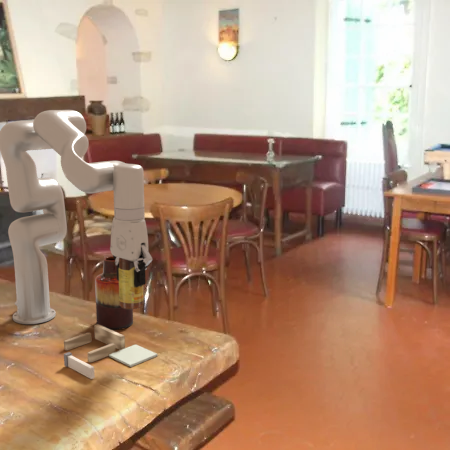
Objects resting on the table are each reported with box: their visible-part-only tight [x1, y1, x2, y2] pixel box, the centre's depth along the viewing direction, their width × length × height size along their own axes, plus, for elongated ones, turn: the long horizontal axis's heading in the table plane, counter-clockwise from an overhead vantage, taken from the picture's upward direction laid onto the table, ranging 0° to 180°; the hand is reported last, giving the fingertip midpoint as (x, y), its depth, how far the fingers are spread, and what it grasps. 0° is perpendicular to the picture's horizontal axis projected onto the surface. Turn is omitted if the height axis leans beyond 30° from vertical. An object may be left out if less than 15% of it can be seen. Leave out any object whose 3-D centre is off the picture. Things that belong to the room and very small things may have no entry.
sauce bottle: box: [119, 256, 144, 310], centre depth 152 cm, size 6×6×20 cm
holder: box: [63, 323, 126, 363], centre depth 161 cm, size 12×11×4 cm
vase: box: [94, 255, 134, 331], centre depth 178 cm, size 11×11×20 cm
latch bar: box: [63, 351, 96, 380], centre depth 148 cm, size 11×2×3 cm, turn 48°
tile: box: [108, 344, 158, 368], centre depth 158 cm, size 9×9×1 cm
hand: (131, 281), depth 153 cm, fingers closed on sauce bottle, 6 cm apart
